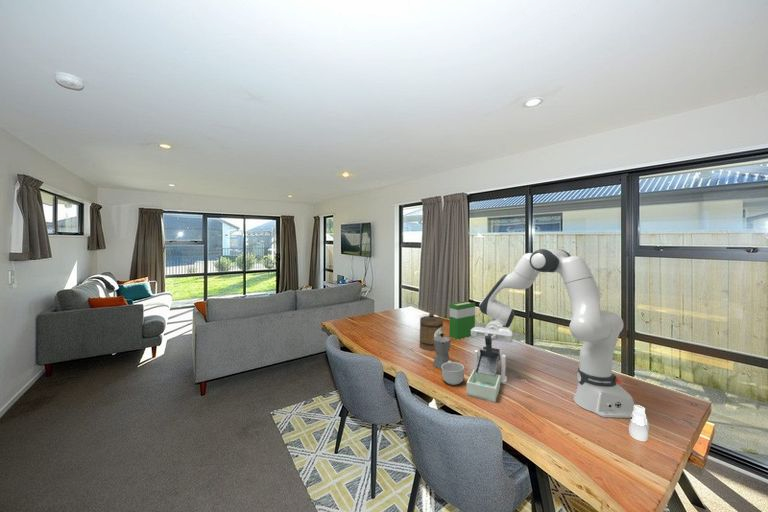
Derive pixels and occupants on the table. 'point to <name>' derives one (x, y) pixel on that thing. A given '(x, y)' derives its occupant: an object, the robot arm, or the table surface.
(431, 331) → the wooden container
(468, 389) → the bin
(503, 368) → the lever frame
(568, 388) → the table surface
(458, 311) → the cereal box
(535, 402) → the table surface
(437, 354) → the coffeepot
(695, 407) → the table surface
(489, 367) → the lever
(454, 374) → the teacup
